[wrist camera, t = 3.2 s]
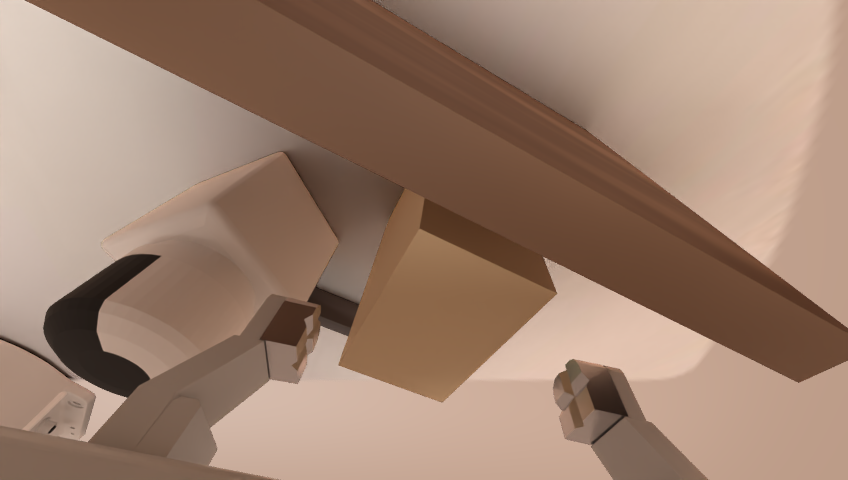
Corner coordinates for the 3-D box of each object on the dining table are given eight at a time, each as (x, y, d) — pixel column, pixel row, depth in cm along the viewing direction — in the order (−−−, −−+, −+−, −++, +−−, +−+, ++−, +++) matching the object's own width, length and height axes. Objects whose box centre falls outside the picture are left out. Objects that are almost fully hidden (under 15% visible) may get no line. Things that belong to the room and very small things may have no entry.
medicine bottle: (261, 265, 24) (127, 429, 14) (195, 183, 21) (-43, 325, 11) (341, 242, 22) (252, 412, 12) (285, 148, 19) (96, 279, 9)
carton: (508, 163, 18) (562, 296, 9) (449, 249, 22) (446, 404, 13) (437, 124, 17) (419, 228, 8) (388, 220, 21) (338, 364, 12)
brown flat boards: (420, 340, 28) (396, 566, 16) (197, 251, 24) (-45, 459, 12) (587, 130, 17) (873, 347, 5) (231, -85, 13) (-1231, -838, 2)
